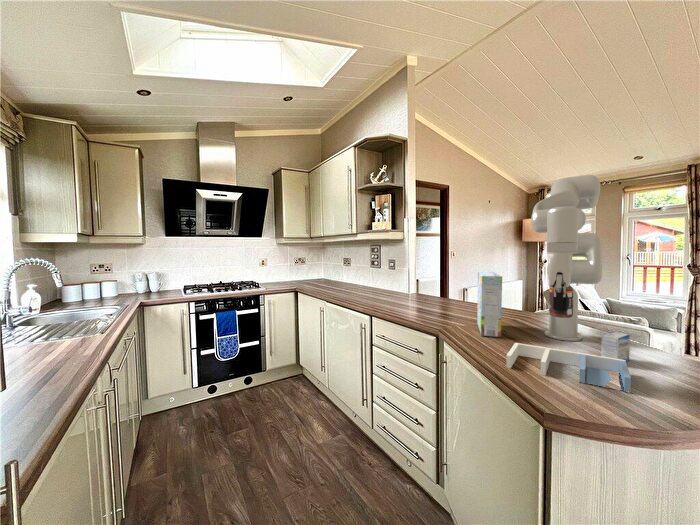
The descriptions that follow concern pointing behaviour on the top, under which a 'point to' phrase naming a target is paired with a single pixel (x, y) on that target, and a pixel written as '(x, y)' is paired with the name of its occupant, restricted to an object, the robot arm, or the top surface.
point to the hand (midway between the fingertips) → (561, 307)
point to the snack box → (489, 304)
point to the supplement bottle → (569, 295)
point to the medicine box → (616, 345)
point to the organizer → (574, 363)
